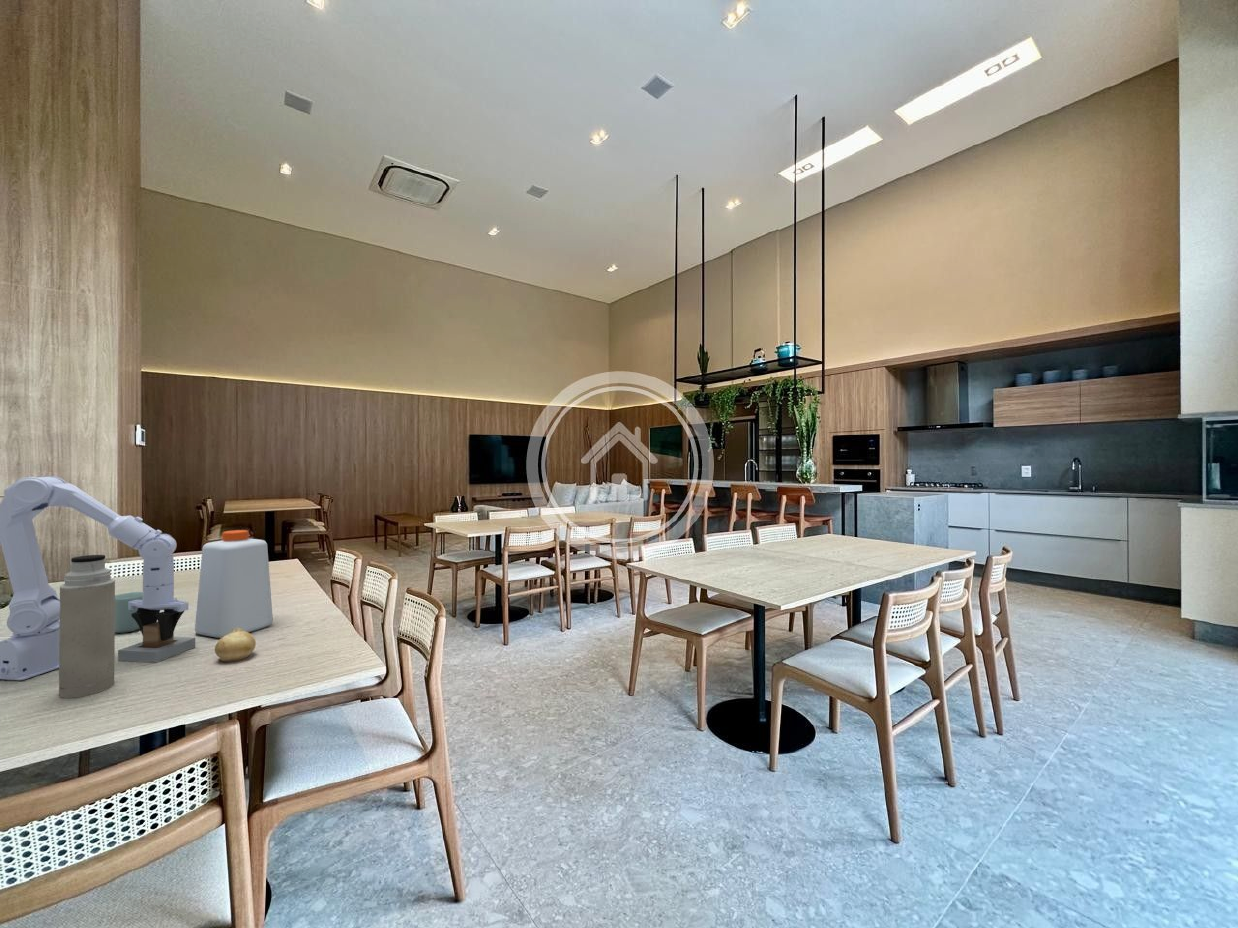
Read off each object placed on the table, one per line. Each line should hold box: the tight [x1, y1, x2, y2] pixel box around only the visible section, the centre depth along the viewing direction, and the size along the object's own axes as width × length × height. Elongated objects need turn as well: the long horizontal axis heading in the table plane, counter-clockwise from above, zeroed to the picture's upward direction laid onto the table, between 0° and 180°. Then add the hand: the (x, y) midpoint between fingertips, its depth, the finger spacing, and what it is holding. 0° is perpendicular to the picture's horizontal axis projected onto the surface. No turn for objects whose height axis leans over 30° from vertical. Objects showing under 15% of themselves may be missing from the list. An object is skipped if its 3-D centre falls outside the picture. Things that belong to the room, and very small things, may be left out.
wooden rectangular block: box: [142, 621, 175, 648], centre depth 125 cm, size 4×4×7 cm
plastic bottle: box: [194, 529, 274, 639], centre depth 143 cm, size 15×15×28 cm
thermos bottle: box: [58, 554, 116, 699], centre depth 105 cm, size 8×8×28 cm
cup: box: [115, 591, 143, 634], centre depth 141 cm, size 8×8×10 cm
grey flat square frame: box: [117, 636, 196, 664], centre depth 125 cm, size 10×10×2 cm
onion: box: [214, 628, 257, 663], centre depth 122 cm, size 8×8×7 cm
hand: (158, 638), depth 125 cm, fingers open, 4 cm apart
